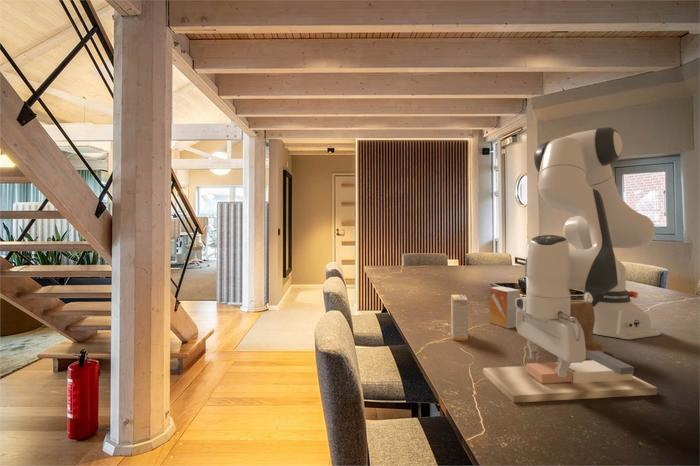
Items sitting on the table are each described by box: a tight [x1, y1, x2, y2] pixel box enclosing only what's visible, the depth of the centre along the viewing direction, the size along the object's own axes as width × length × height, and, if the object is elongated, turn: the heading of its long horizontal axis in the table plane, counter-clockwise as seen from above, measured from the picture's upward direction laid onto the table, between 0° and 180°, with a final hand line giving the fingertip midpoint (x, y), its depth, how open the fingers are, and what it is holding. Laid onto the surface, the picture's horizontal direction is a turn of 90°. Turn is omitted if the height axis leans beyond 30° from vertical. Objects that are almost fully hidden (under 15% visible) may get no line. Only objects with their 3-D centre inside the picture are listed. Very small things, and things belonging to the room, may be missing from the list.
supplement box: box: [450, 294, 469, 342], centre depth 117 cm, size 8×5×13 cm, turn 168°
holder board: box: [482, 365, 658, 403], centre depth 83 cm, size 32×14×2 cm, turn 95°
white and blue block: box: [555, 351, 635, 383], centre depth 83 cm, size 14×10×4 cm
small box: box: [489, 285, 521, 329], centre depth 129 cm, size 8×6×13 cm
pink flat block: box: [525, 362, 572, 383], centre depth 83 cm, size 7×6×2 cm
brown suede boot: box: [570, 299, 605, 361], centre depth 101 cm, size 15×12×15 cm
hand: (547, 367), depth 83 cm, fingers open, 8 cm apart
